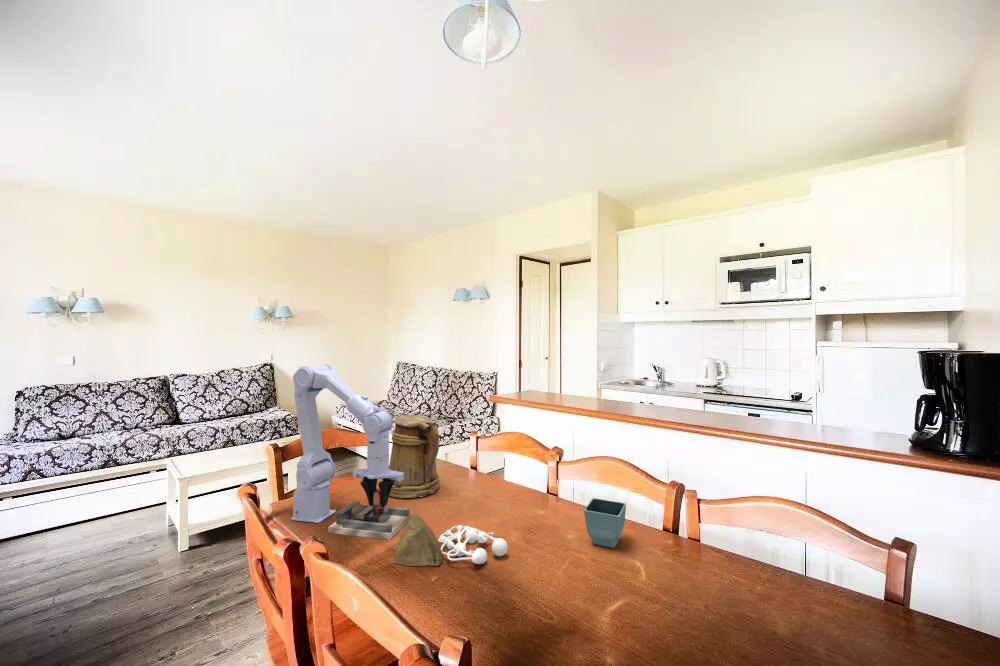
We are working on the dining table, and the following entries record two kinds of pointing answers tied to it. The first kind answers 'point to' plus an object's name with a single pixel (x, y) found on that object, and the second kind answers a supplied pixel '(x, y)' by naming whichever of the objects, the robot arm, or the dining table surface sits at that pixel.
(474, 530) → the white knotted ball cord
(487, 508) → the dining table surface
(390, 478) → the robot arm
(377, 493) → the sliding jaw
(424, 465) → the tankard
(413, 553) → the rock
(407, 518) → the base
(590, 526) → the flower pot
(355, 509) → the walnut
